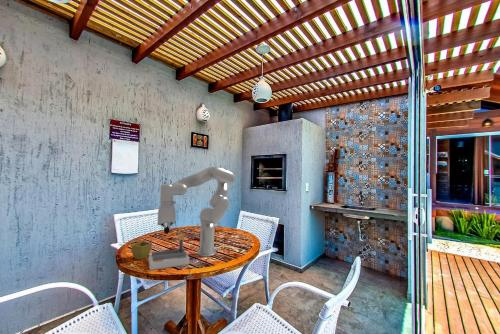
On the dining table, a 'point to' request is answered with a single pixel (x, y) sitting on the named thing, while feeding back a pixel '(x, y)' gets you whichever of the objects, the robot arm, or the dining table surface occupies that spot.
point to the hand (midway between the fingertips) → (166, 233)
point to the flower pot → (141, 250)
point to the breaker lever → (180, 242)
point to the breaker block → (167, 259)
